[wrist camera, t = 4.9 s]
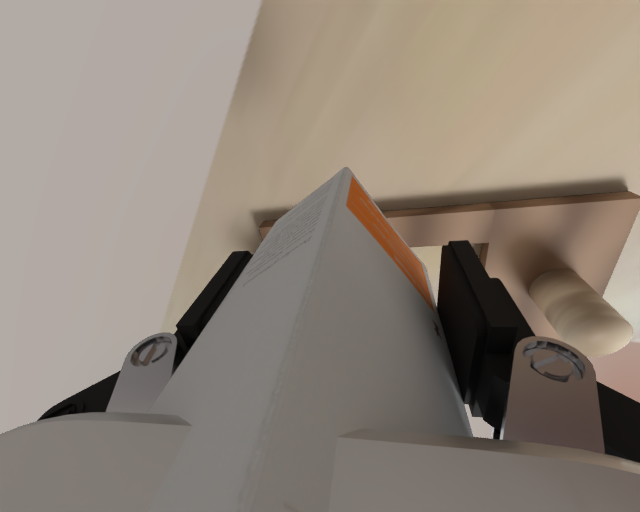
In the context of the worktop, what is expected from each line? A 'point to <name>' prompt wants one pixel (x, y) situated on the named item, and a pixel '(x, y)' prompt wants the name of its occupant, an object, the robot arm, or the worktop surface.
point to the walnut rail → (541, 257)
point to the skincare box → (308, 361)
